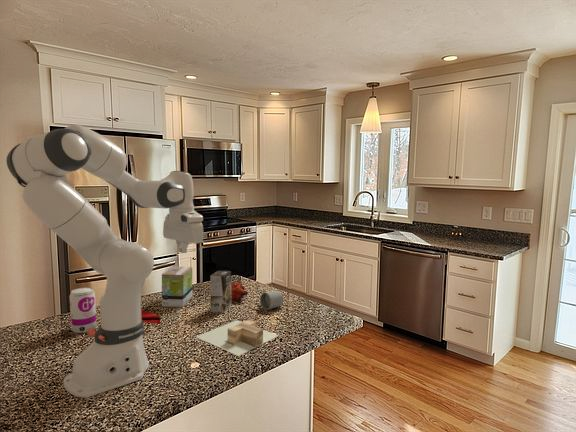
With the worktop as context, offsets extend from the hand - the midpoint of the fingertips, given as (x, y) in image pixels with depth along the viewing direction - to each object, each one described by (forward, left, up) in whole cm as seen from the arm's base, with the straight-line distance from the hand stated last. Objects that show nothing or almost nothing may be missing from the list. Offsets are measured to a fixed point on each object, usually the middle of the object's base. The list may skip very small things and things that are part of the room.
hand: (182, 252), depth 139 cm
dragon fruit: (+36, +9, -29) cm, 47 cm away
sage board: (+7, -22, -29) cm, 37 cm away
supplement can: (-25, +27, -29) cm, 47 cm away
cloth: (-4, +23, -30) cm, 38 cm away
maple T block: (+7, -27, -28) cm, 40 cm away
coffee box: (+22, +4, -29) cm, 37 cm away
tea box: (+16, +27, -29) cm, 43 cm away
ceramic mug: (+38, -10, -29) cm, 49 cm away
